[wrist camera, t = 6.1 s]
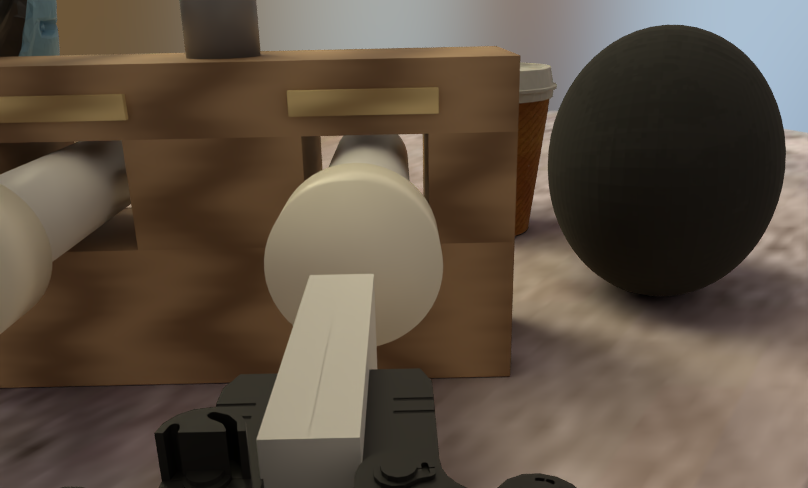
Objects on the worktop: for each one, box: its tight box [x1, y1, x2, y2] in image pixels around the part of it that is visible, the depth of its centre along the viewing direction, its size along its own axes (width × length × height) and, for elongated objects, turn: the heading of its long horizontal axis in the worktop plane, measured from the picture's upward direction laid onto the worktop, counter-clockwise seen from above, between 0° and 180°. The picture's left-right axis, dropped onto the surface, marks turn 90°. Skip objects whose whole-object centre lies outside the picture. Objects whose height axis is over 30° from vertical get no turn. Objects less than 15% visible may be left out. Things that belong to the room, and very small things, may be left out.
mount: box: [0, 46, 520, 388], centre depth 33 cm, size 25×7×14 cm, turn 91°
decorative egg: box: [548, 25, 786, 296], centre depth 39 cm, size 12×12×15 cm
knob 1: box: [0, 140, 131, 334], centre depth 28 cm, size 5×15×5 cm, turn 1°
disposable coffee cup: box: [515, 63, 557, 236], centre depth 52 cm, size 10×10×12 cm
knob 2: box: [264, 134, 443, 346], centre depth 28 cm, size 5×15×5 cm, turn 1°
